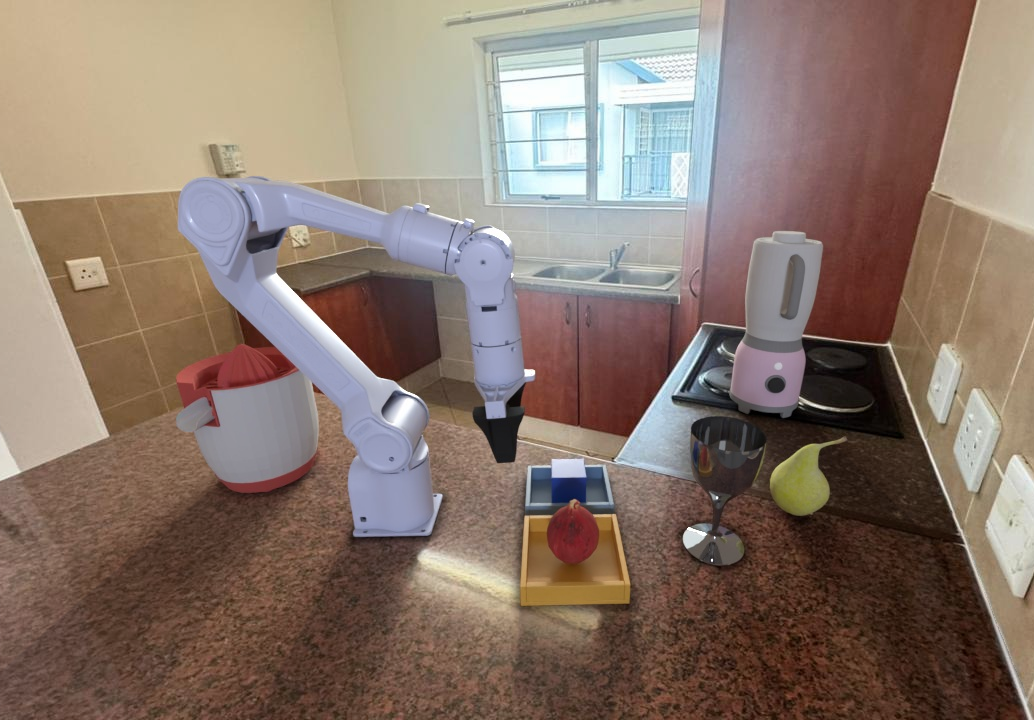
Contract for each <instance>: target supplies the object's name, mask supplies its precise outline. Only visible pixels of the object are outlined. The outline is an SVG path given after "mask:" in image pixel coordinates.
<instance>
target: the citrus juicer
mask: <svg viewBox="0 0 1034 720" xmlns="http://www.w3.org/2000/svg"><path fill="white" fill-rule="evenodd" d="M175 383H176V385H177V389H178V392H179V396H180V399H181V401H182V406H183V409H182V410H180V412H179V413H178V414H176V417H175V425H176V427H177V429H178V430H180V431H182V432H186V433H194V437H195V440H196V442H197V445H198V449H199V450H200V453H201V455H202V457H203V458H204V460H205V462H206V463H207V466H209V468H210V469H211V470H212V472H213V473H214V475H215V477H216V478H217V479H218V480H219V481H220V482H221V483H222V484H223V485H224V486H225V487H226V488H227V489H229V490H231V491H233V492H236V493H242V494H252V493H254V494H255V493H268V492H271V491H273V490H275V489H279V488H282V487H284V486H286V485H289V484H292V483H293V482H295V481H297V480H299V479H300V478H302V477H303V476H305V475H306V474H308V472H310V470H311V469H312V468H313V466H314V462H315V460H316V456H317V452H318V443H319V435H320V433H319V432H320V422H319V415H318V414H319V413H318V408H317V402H316V397H315V392H314V387H313V383H312V382H311V381H310V380H309V379H308V378H307V377H306V376H305V375H304V374H303V373H302V372H301V371H300V370H299V369H298V368H297V367H296V366H295V365H294V364H293V363H292V362H291V361H290V360H289V359H288V358H287V357H286V356H284V355H283V354H282V353H281V352H280V351H279V350H278V349H277V348H276V347H275V346H263V347H251V346H249V345H247V344H244V343H240V344H237V345H236V346H235V347H234V348H233V349H232V350H231V351H228V352H224V353H221V354H217V355H213V356H210V357H207V358H204V359H201V360H199V361H196V362H194V363H192V364H190V365H188V366H186V367H185V368H183V369H181V371H179V372H178V373H177V374H176V377H175Z"/></svg>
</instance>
